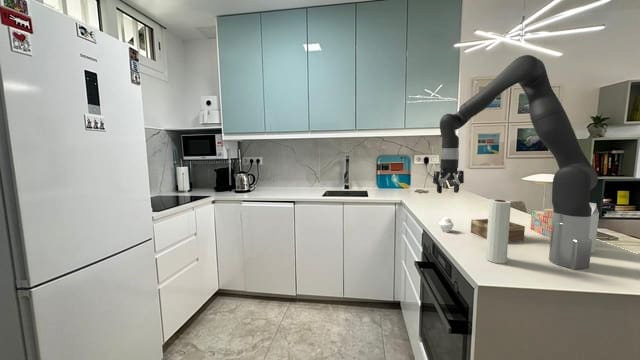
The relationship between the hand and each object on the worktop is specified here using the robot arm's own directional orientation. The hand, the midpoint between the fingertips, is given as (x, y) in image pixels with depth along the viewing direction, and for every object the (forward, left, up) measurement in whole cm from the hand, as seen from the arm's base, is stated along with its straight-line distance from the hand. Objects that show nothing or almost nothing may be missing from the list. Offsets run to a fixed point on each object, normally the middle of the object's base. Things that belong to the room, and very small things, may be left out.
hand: (447, 192), depth 124 cm
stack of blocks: (-16, -41, -19) cm, 48 cm away
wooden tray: (-11, -17, -19) cm, 28 cm away
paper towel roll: (-33, +4, -19) cm, 38 cm away
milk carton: (-32, -33, -19) cm, 50 cm away
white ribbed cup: (0, 0, -19) cm, 19 cm away
